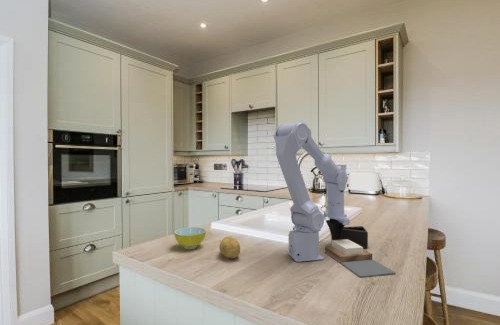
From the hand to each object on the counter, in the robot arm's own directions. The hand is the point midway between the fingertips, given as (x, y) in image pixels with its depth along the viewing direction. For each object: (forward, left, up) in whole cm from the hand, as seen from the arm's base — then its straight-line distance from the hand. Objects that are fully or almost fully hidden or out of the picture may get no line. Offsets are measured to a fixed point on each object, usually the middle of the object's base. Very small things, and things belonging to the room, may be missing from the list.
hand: (335, 240), depth 97 cm
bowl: (-51, +13, -3) cm, 53 cm away
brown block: (0, -8, -3) cm, 8 cm away
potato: (-38, +1, -3) cm, 38 cm away
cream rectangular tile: (0, -7, -1) cm, 7 cm away
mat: (0, -18, -3) cm, 18 cm away
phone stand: (+13, +1, 0) cm, 13 cm away
